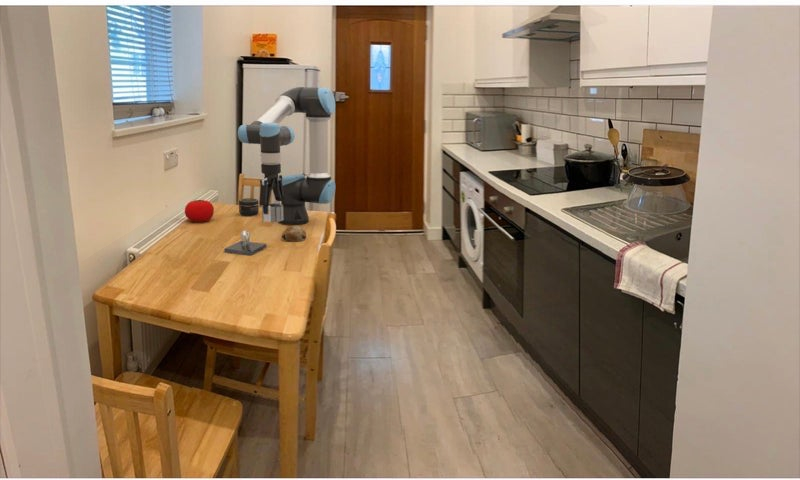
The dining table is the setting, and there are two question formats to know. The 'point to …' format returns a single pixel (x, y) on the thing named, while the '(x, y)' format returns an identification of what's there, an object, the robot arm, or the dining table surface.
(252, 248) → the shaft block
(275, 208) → the tube
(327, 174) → the robot arm
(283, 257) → the dining table surface
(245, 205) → the jar
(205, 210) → the tomato
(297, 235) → the bread roll
